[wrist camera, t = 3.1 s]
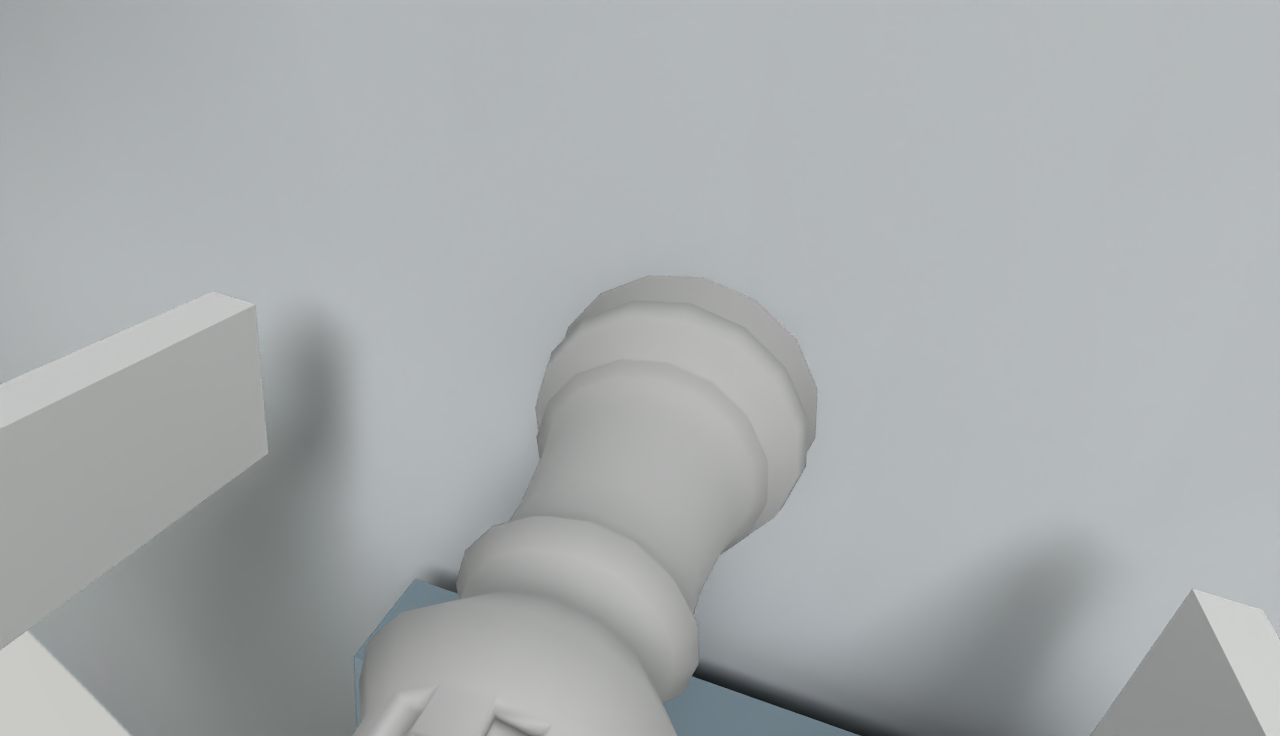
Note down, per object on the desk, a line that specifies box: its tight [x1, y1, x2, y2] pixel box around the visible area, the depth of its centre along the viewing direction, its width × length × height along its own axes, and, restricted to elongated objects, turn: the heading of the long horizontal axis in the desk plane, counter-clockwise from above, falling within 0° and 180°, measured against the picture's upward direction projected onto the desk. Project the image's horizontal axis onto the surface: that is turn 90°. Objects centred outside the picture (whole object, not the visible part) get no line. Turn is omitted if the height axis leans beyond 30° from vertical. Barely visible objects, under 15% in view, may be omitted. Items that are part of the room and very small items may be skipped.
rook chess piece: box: [352, 276, 817, 736], centre depth 10 cm, size 4×4×8 cm
